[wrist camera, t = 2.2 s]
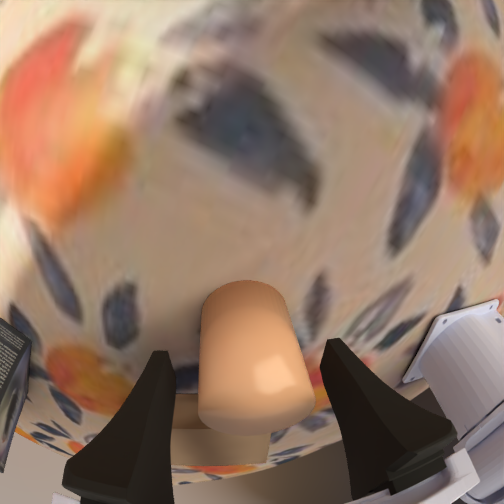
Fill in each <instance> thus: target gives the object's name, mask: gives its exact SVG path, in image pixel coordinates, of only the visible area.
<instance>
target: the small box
mask: <svg viewBox="0 0 504 504" xmlns="http://www.w3.org/2000/svg"><path fill="white" fill-rule="evenodd" d="M31 344H32V341H31V340H30V339H29V338H27V337H26V336H24V335H23V334H22V333H20V332H19V331H17V330H16V329H15V328H13V327H12V326H11V325H9V324H8V323H6V322H5V321H4V320H3V319H1V318H0V472H1V473H3V472H4V468H5V464H6V460H7V456H8V452H9V448H10V445H11V441H12V438H13V434H14V431H15V428H16V425H17V422H18V419H19V416H20V414H21V411H22V408H23V405H24V402H25V399H26V396H27V394H28V379H29V364H30V352H31Z"/></svg>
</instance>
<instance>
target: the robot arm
mask: <svg viewBox="0 0 504 504" xmlns="http://www.w3.org/2000/svg"><path fill="white" fill-rule="evenodd" d="M498 305H499V301H498V300H497V299H495V300H492V301H489V302H486V303H482V304H479V305H476V306H472V307H469V308H465V309H462V310H458V311H454V312H451V313H447V314H443V315H439V316H438V317H436V318H435V320H434V322H433V324H432V326H431V328H430V330H429V332H428V334H427V336H426V338H425V340H424V342H423V344H422V346H421V347H420V349H419V351H418V353H417V355H416V357H415V358H414V360H413V362H412V364H411V365H410V367H409V369H408V371H407V372H406V374H405V376H404V377H403V379H402V380H403V382H404V383H408V382H411V381H414V380H417V379H420V378H423V377H424V378H425V380H426V381H427V383H428V385H429V387H430V388H431V390H432V392H433V394H434V395H435V397H436V399H437V401H438V402H439V404H440V406H441V408H442V410H443V411H444V413H445V415H446V417H447V419H446V418H444V417H441V416H438V415H436V414H433V413H431V412H429V411H427V410H425V409H423V408H421V407H419V406H418V405H416V404H414V403H412V402H411V401H409V400H407V399H406V398H404V397H403V396H401V395H400V394H398V393H397V392H396V391H394V390H393V389H392V388H390V387H389V386H388V385H387V384H385V383H384V382H383V381H382V380H381V379H380V378H378V377H377V376H376V375H375V374H374V373H373V372H372V371H371V370H370V369H369V368H368V367H367V366H366V365H365V364H364V363H363V362H362V361H361V360H360V359H359V358H358V357H357V356H356V355H355V354H354V353H353V352H352V351H351V350H350V349H349V347H348V346H347V345H346V344H345V343H344V342H343V341H342V340H341V339H340V338H334V339H327V342H326V346H325V350H324V353H323V357H322V360H321V364H320V370H321V375H322V379H323V383H324V387H325V389H326V392H327V395H328V397H329V400H330V402H331V405H332V408H333V410H334V413H335V416H336V418H337V421H338V424H339V427H340V430H341V434H342V439H343V443H344V447H345V452H346V457H347V463H348V469H349V475H350V485H351V495H352V499H353V501H352V502H348V503H345V504H451V503H452V502H454V501H455V500H457V499H458V498H461V499H462V500H463V501H464V502H466V503H468V504H504V318H503V317H502V316H501V315H500V314H499V313H498V311H497V310H496V309H497V307H498ZM175 399H176V376H175V373H174V370H173V367H172V364H171V360H170V357H169V354H168V351H154V352H153V353H152V355H151V357H150V359H149V361H148V363H147V365H146V367H145V369H144V371H143V373H142V374H141V376H140V378H139V380H138V381H137V383H136V385H135V386H134V388H133V390H132V391H131V393H130V394H129V396H128V398H127V399H126V401H125V402H124V404H123V405H122V406H121V408H120V409H119V411H118V412H117V413H116V414H115V416H114V417H113V418H112V419H111V421H110V422H109V423H108V424H107V425H106V426H105V428H104V429H103V430H102V431H101V432H100V433H99V434H98V435H97V436H96V437H95V438H94V439H93V440H92V441H91V442H90V443H89V444H87V445H86V446H85V447H84V448H83V449H82V450H80V451H79V452H78V453H77V454H75V455H74V456H73V457H71V458H70V459H69V460H67V462H66V465H65V469H64V474H63V480H62V485H63V487H64V488H66V489H68V490H70V491H71V492H73V493H75V494H77V495H79V496H81V500H80V501H79V500H76V499H73V498H70V497H67V496H64V495H62V494H59V493H56V492H53V498H52V504H174V498H173V487H172V475H171V447H170V445H171V432H172V423H173V415H174V407H175ZM456 437H457V438H458V440H459V441H460V442H459V443H458V444H457V445H456V446H454V447H453V449H454V451H455V453H454V454H452V455H451V456H449V457H448V458H446V459H443V457H442V456H443V455H444V451H443V448H444V447H446V446H447V445H448V444H449V443H450V442H451V441H453V440H454V439H455V438H456Z"/></svg>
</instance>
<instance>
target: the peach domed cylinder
mask: <svg viewBox="0 0 504 504" xmlns="http://www.w3.org/2000/svg"><path fill="white" fill-rule="evenodd" d="M315 403H316V398H315V395H314V391H313V388H312V385H311V382H310V378H309V375H308V372H307V369H306V365H305V362H304V359H303V356H302V353H301V349H300V346H299V343H298V340H297V337H296V334H295V331H294V327H293V324H292V321H291V318H290V315H289V312H288V309H287V306H286V303H285V300H284V298H283V296H282V295H281V294H280V293H279V292H278V291H277V290H276V289H275V288H273V287H272V286H270V285H268V284H265V283H262V282H258V281H251V280H244V281H236V282H232V283H229V284H226V285H224V286H221V287H220V288H218V289H216V290H215V291H214V292H213V293H211V295H210V296H209V297H208V298H207V299H206V301H205V303H204V305H203V308H202V314H201V333H200V356H199V388H198V415H199V418H200V420H201V421H202V422H203V423H204V424H205V425H206V426H208V427H210V428H211V429H214V430H216V431H219V432H222V433H226V434H231V435H242V436H251V435H262V434H268V433H273V432H277V431H280V430H283V429H286V428H288V427H291V426H293V425H295V424H297V423H298V422H300V421H302V420H303V419H304V418H306V417H307V416H308V415H309V414H310V413H311V412H312V410H313V409H314V407H315Z"/></svg>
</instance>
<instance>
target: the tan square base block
mask: <svg viewBox="0 0 504 504" xmlns="http://www.w3.org/2000/svg"><path fill="white" fill-rule="evenodd" d="M270 437H271V433H268V434H262V435H251V436H242V435H231V434H226V433H222V432H219V431H216V430H214V429H211V428H210V427H208V426H206V425H205V424H204V423H203V422H202V421H201V420H200V418H199V415H198V394H176V399H175V407H174V415H173V423H172V432H171V445H170V447H171V465H185V466H228V465H246V464H258V463H266V460H267V454H268V449H269V443H270Z"/></svg>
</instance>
